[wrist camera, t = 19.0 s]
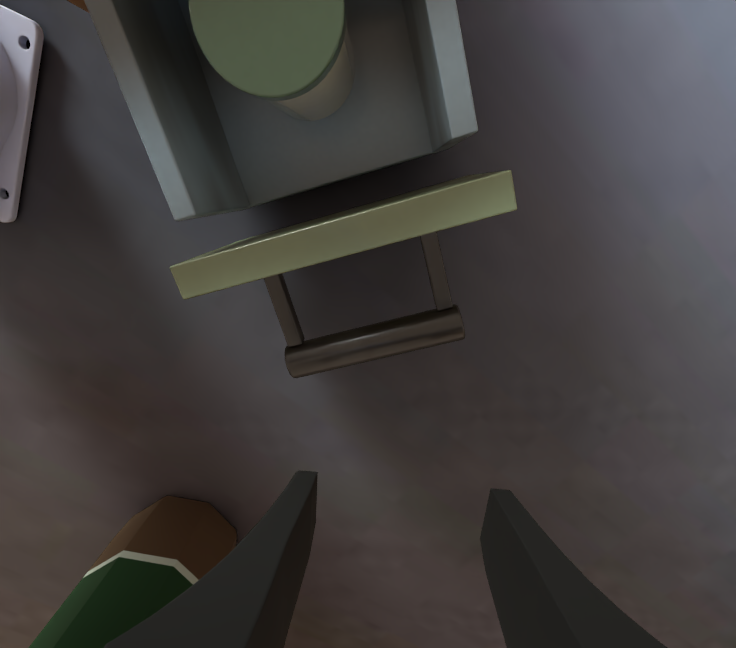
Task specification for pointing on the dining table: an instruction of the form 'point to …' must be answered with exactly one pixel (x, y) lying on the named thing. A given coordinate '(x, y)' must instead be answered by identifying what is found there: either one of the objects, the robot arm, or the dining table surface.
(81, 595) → the beer bottle
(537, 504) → the dining table surface
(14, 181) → the robot arm
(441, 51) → the green drawer
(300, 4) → the jar
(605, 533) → the dining table surface
